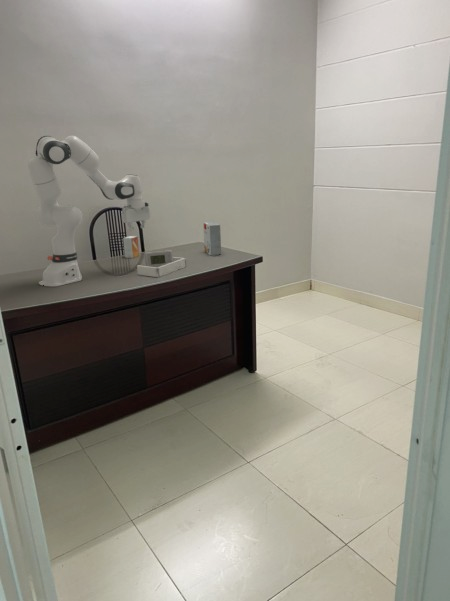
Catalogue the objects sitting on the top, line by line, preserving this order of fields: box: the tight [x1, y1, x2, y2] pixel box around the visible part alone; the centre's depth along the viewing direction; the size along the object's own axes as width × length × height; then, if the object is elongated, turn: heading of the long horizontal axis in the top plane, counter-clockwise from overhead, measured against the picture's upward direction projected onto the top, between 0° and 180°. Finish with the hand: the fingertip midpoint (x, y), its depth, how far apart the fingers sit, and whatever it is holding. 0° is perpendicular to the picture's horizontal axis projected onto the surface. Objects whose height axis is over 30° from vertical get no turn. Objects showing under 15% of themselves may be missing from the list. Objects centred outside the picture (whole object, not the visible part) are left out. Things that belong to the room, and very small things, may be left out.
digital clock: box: [144, 249, 174, 267], centre depth 242 cm, size 16×9×11 cm, turn 97°
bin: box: [136, 256, 187, 278], centre depth 240 cm, size 26×14×5 cm, turn 150°
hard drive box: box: [202, 221, 222, 256], centre depth 280 cm, size 16×8×20 cm, turn 17°
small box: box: [122, 235, 140, 259], centre depth 277 cm, size 8×6×13 cm
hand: (137, 229), depth 242 cm, fingers open, 8 cm apart
